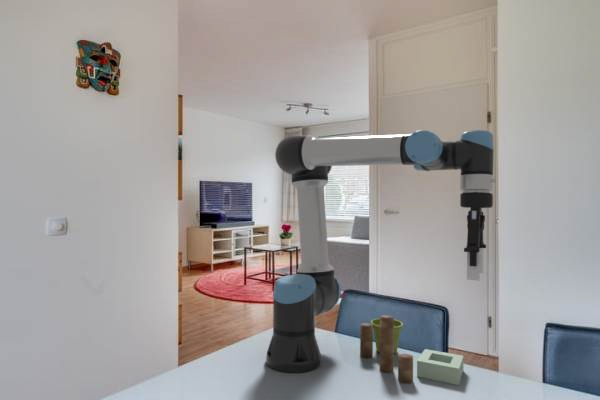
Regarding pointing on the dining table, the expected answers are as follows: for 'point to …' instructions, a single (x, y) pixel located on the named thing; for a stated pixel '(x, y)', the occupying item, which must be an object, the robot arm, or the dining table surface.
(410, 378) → the peg short
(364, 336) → the peg medium
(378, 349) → the plant pot
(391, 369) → the peg long
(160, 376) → the dining table surface
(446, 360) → the hole block
